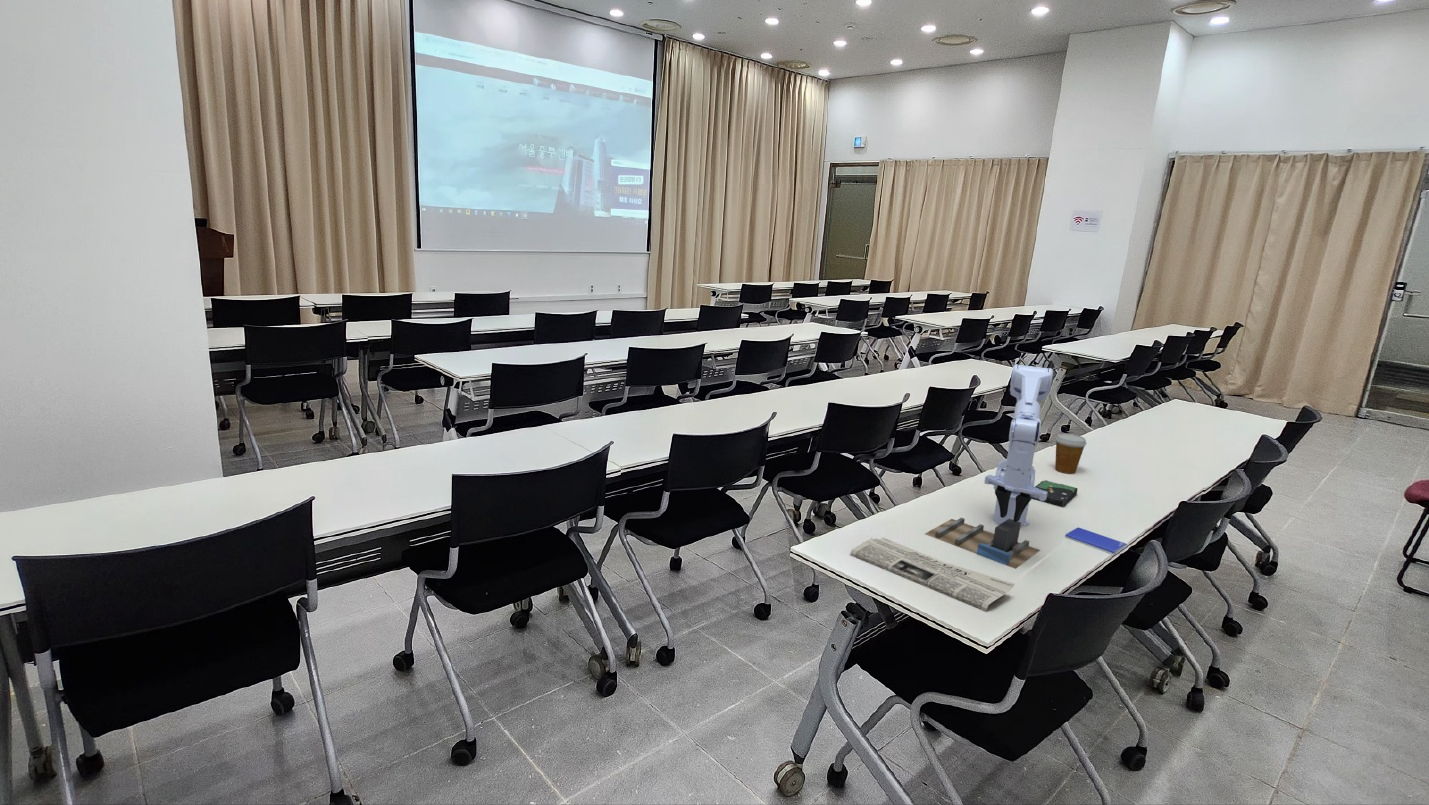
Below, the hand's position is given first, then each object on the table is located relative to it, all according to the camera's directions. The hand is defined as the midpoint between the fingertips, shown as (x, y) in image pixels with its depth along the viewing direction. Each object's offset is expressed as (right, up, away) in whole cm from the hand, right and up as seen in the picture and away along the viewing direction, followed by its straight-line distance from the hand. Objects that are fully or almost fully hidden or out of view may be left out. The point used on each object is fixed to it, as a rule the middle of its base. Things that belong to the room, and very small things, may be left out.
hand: (1009, 518), depth 174 cm
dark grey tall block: (-1, -8, +2) cm, 9 cm away
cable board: (-5, -8, +6) cm, 11 cm away
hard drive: (+27, -9, +12) cm, 31 cm away
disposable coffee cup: (+46, +5, +66) cm, 81 cm away
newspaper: (-23, -12, -10) cm, 28 cm away
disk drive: (+31, -1, +42) cm, 52 cm away
